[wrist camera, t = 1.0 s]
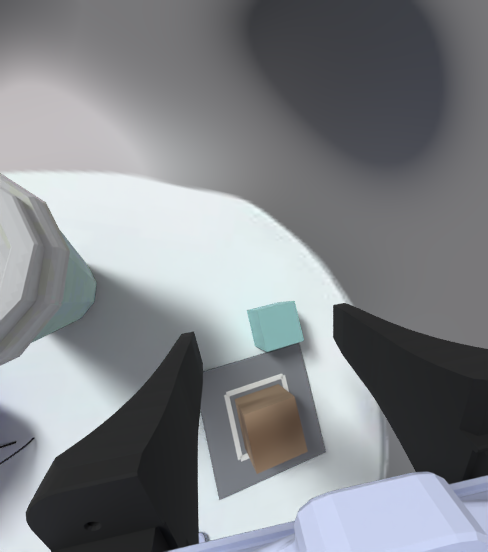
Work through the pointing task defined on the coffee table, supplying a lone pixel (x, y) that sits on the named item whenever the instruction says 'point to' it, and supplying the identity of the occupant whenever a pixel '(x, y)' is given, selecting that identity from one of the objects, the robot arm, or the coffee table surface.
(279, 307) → the teal cube
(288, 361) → the mat
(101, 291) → the coffee table surface
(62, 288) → the disposable coffee cup
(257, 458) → the walnut block
